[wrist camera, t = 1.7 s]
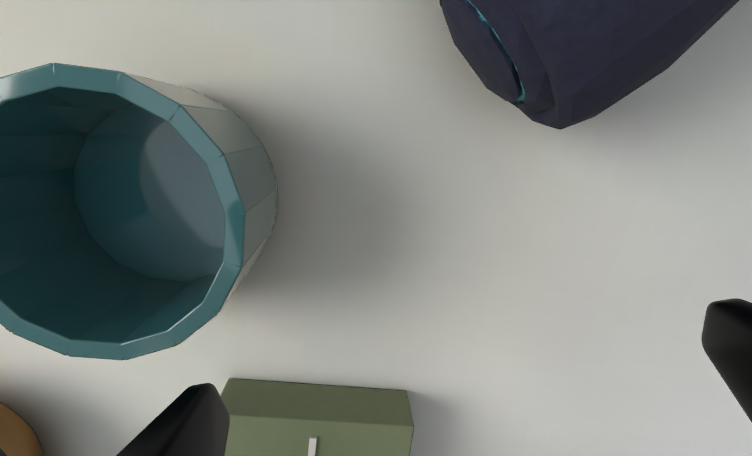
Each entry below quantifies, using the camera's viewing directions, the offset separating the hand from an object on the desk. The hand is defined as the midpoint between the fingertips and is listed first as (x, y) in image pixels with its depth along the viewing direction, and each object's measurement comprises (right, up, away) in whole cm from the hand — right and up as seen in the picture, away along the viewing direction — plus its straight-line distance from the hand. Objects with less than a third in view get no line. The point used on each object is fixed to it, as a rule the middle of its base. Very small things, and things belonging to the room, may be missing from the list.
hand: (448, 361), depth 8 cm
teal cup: (-11, +4, +13) cm, 18 cm away
